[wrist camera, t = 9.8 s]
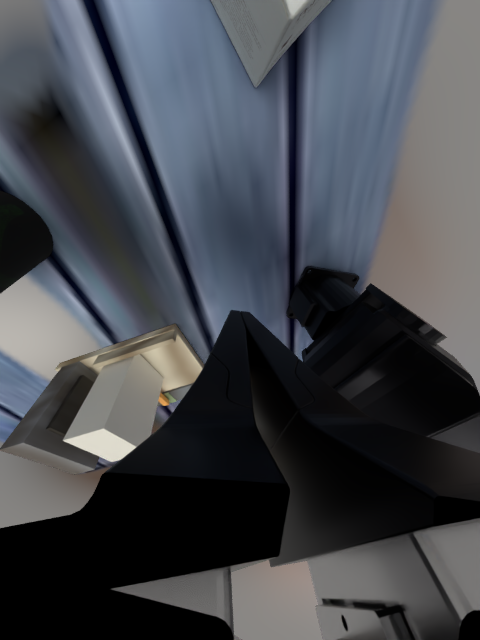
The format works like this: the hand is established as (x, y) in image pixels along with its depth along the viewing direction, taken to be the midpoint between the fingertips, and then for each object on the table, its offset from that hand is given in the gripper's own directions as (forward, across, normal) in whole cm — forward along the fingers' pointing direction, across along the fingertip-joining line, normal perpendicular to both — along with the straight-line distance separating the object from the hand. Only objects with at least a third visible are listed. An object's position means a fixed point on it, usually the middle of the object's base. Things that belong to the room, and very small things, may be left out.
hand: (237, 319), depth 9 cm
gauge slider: (+11, +8, +19) cm, 23 cm away
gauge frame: (+12, +8, +20) cm, 24 cm away
